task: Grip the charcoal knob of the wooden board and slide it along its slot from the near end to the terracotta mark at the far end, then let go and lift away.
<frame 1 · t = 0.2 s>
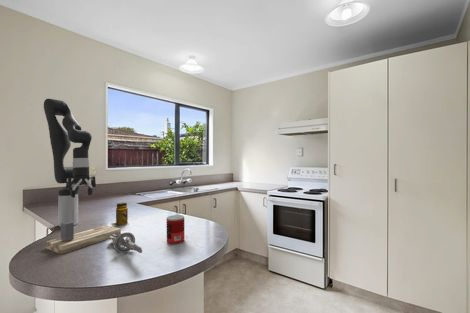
hand: (81, 196, 126), 17 cm above the worktop, fingers open, 8 cm apart
canned food: (175, 241, 104), on the worktop
fader knob: (67, 232, 99), point 6 cm above the worktop, slide at 0.0 cm
wooden board: (86, 241, 106), on the worktop
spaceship: (125, 252, 92), on the worktop
condiment: (120, 224, 133), on the worktop
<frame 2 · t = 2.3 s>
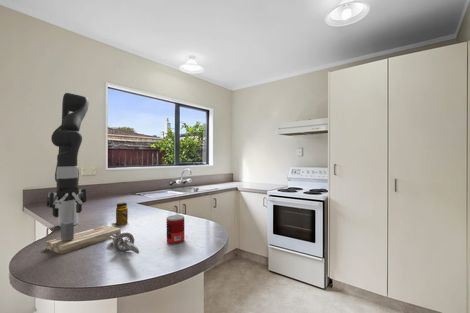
hand: (67, 214, 99), 14 cm above the worktop, fingers open, 8 cm apart
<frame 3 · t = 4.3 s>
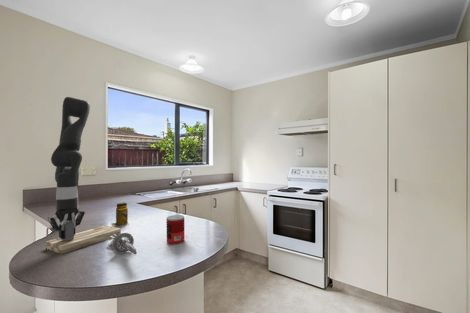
hand: (67, 237, 99), 4 cm above the worktop, fingers closed on fader knob, 3 cm apart
fader knob: (67, 232, 99), point 6 cm above the worktop, slide at 0.0 cm, touching gripper
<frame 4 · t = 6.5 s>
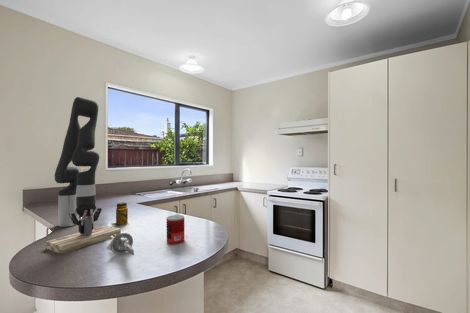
hand: (86, 232, 105), 4 cm above the worktop, fingers closed on fader knob, 3 cm apart
fader knob: (86, 227, 105), point 6 cm above the worktop, slide at 7.8 cm, touching gripper
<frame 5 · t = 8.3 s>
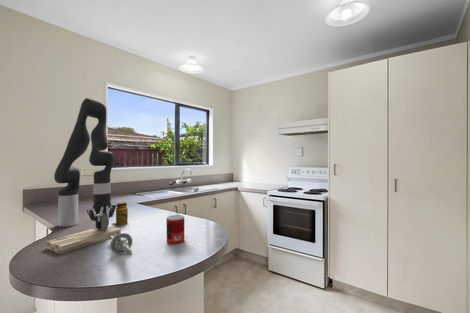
hand: (102, 227, 112), 4 cm above the worktop, fingers closed on fader knob, 3 cm apart
fader knob: (102, 223, 112), point 6 cm above the worktop, slide at 15.4 cm, touching gripper
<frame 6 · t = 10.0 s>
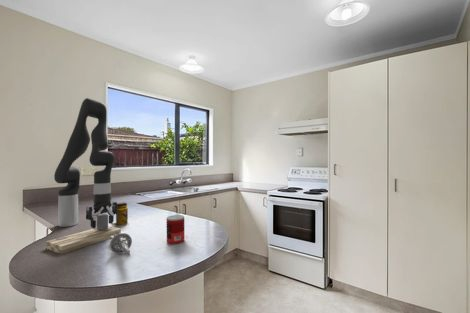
hand: (102, 225, 112), 5 cm above the worktop, fingers open, 8 cm apart
fader knob: (102, 223, 112), point 6 cm above the worktop, slide at 15.5 cm
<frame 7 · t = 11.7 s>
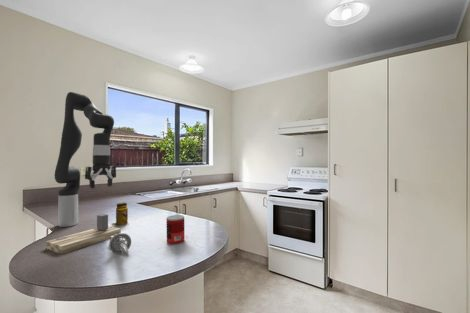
hand: (101, 187, 114), 24 cm above the worktop, fingers open, 8 cm apart
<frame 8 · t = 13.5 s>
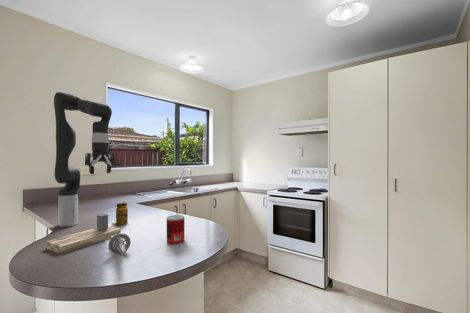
hand: (100, 173, 119), 30 cm above the worktop, fingers open, 8 cm apart
at the end: fader knob slide at 15.5 cm; the gripper is holding nothing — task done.
